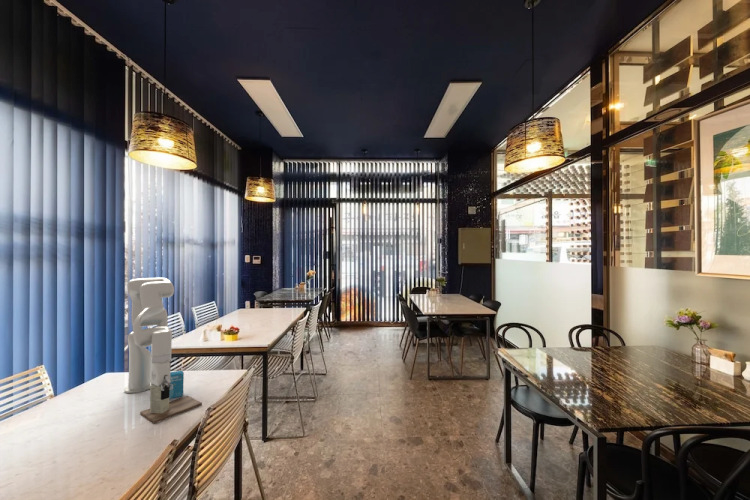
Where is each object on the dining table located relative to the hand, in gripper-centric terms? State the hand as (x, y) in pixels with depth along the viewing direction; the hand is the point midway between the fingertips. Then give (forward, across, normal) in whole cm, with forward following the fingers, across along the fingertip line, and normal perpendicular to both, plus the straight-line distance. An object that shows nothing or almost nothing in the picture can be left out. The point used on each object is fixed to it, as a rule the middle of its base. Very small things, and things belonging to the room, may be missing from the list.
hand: (160, 395), depth 137 cm
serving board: (+8, 0, +5) cm, 10 cm away
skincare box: (+7, 0, 0) cm, 7 cm away
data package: (+8, -15, +10) cm, 20 cm away
